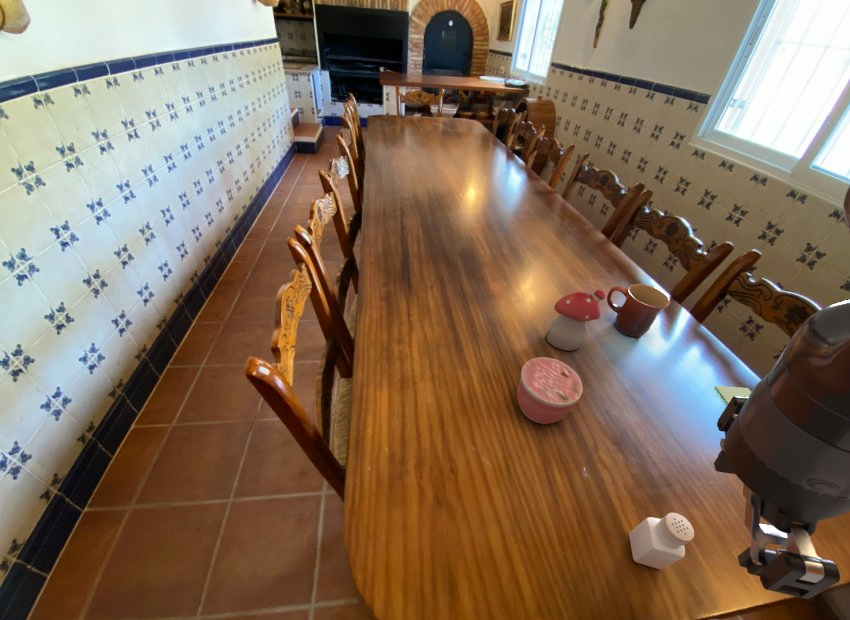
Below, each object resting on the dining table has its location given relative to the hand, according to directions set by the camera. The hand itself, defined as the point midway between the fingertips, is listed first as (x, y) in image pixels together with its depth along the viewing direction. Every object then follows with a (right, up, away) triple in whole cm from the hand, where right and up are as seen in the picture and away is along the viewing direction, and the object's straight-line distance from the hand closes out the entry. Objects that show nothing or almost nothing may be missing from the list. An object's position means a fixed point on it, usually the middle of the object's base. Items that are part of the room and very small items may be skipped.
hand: (738, 513), depth 35 cm
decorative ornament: (+1, +12, +47) cm, 48 cm away
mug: (+18, +16, +53) cm, 58 cm away
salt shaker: (0, -14, +15) cm, 21 cm away
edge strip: (+33, -1, +34) cm, 47 cm away
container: (-9, +2, +33) cm, 34 cm away
